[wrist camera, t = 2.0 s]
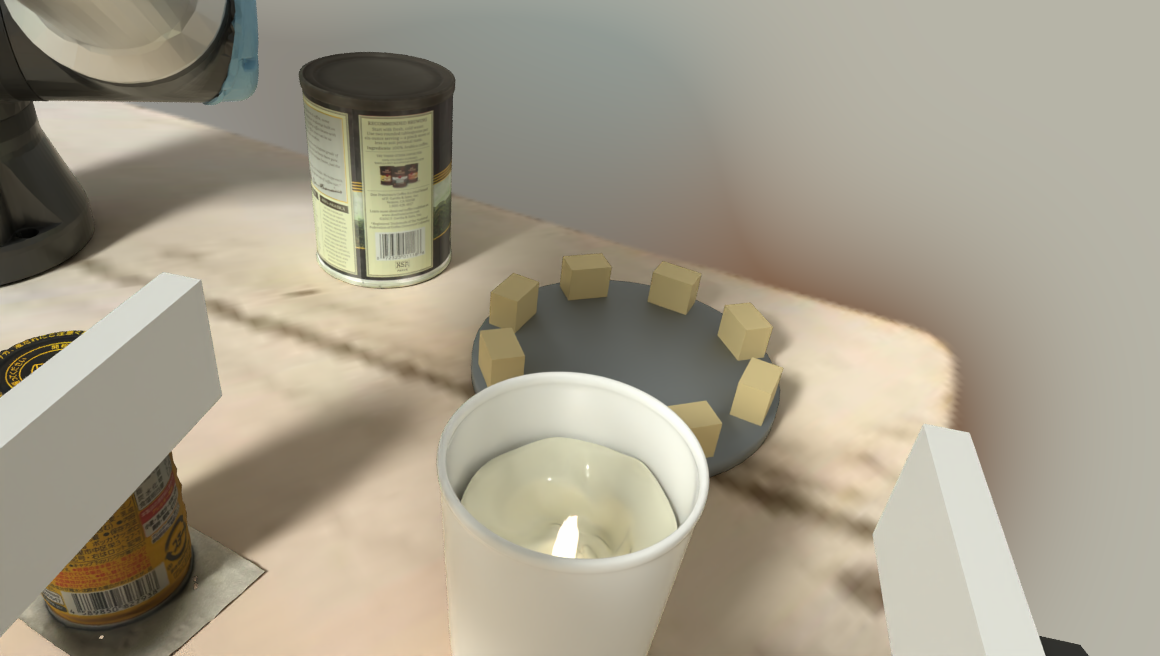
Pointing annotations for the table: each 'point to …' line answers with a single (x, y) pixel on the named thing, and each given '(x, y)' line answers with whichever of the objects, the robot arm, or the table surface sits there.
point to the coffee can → (380, 166)
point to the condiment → (131, 560)
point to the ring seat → (640, 348)
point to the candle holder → (564, 515)
